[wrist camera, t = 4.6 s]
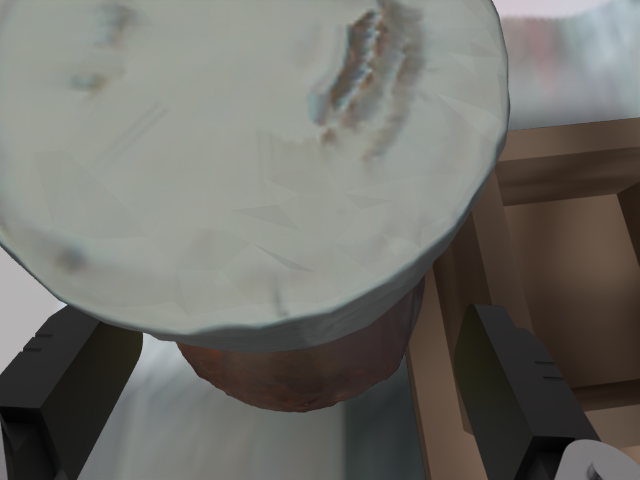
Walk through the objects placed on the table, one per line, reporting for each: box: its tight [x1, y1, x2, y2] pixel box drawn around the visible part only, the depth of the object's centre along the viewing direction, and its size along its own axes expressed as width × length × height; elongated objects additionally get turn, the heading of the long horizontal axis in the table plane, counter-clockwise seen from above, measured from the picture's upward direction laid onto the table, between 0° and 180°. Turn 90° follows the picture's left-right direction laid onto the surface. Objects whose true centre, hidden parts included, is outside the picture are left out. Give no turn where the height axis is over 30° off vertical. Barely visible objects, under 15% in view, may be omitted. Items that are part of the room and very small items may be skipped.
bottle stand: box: [405, 117, 640, 480], centre depth 19 cm, size 15×16×7 cm
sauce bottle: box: [0, 0, 510, 412], centre depth 12 cm, size 7×6×20 cm
